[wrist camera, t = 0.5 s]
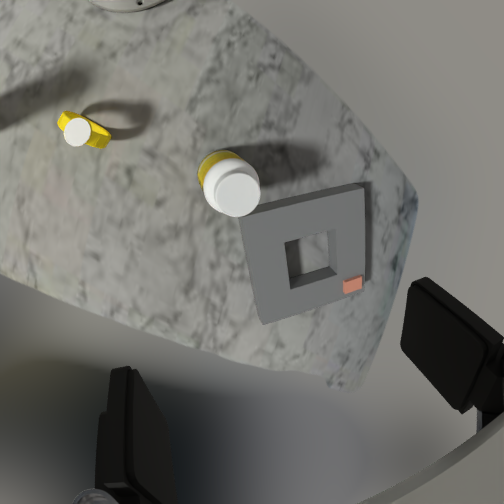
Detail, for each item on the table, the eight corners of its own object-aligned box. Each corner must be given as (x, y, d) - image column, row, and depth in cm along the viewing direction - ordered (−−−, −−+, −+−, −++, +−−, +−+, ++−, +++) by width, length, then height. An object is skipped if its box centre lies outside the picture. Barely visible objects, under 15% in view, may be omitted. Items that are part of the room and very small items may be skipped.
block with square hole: (236, 210, 38) (242, 219, 36) (353, 183, 41) (366, 189, 38) (257, 314, 46) (263, 327, 43) (356, 282, 48) (366, 293, 46)
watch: (117, 128, 31) (112, 134, 26) (104, 149, 32) (97, 160, 27) (73, 103, 28) (60, 105, 23) (61, 126, 29) (46, 132, 24)
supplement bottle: (186, 175, 35) (194, 198, 27) (219, 139, 34) (237, 150, 26) (221, 204, 38) (239, 236, 29) (253, 170, 37) (281, 191, 28)
